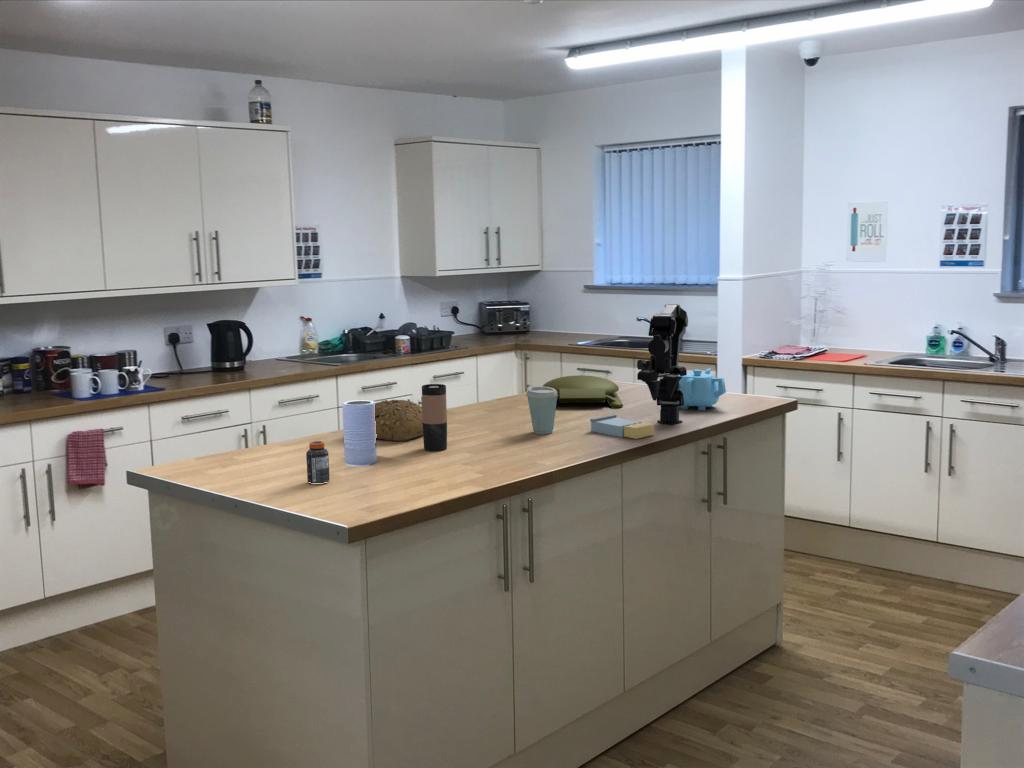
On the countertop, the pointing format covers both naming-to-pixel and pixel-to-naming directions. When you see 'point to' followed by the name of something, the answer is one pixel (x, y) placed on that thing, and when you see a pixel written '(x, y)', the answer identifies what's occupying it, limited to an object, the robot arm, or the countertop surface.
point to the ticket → (610, 425)
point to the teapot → (701, 389)
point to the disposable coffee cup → (542, 408)
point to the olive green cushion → (585, 390)
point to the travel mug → (434, 417)
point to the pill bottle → (317, 463)
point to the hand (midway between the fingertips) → (661, 399)
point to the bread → (398, 420)
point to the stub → (639, 430)
